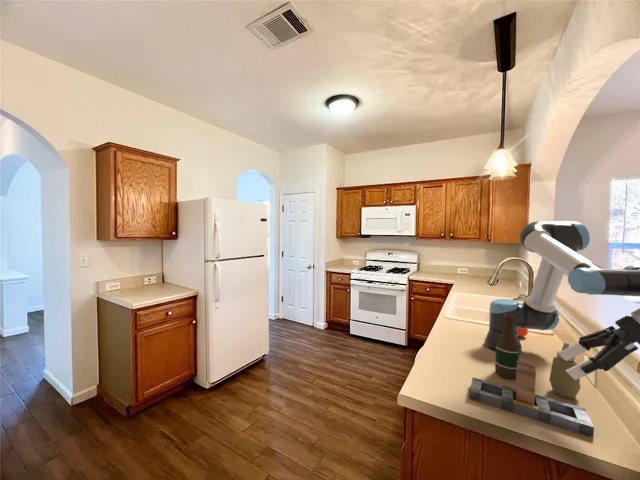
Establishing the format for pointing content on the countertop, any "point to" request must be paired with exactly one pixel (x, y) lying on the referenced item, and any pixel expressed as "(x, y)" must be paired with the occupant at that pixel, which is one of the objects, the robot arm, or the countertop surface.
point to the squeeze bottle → (563, 376)
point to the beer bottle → (507, 351)
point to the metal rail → (533, 407)
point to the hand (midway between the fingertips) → (565, 365)
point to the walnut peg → (525, 382)
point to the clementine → (522, 332)
